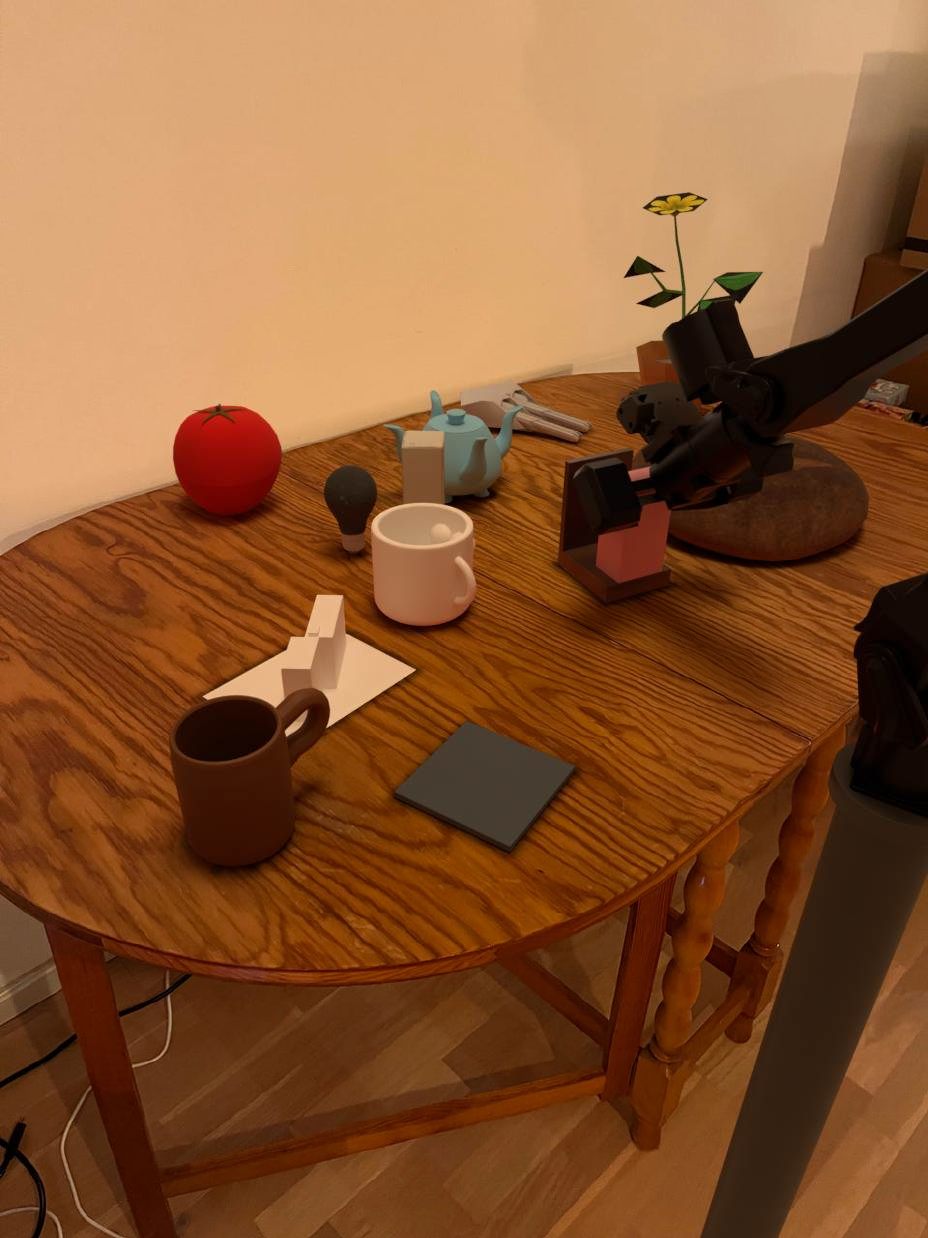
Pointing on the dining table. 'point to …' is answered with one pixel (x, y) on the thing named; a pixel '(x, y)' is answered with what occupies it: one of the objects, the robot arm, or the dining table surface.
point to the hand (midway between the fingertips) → (626, 514)
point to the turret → (503, 396)
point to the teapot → (466, 448)
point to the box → (423, 467)
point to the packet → (636, 542)
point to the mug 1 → (242, 772)
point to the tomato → (226, 458)
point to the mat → (486, 784)
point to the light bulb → (351, 503)
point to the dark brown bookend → (595, 540)
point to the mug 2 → (423, 563)
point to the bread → (781, 510)
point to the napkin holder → (321, 667)
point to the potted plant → (678, 292)
